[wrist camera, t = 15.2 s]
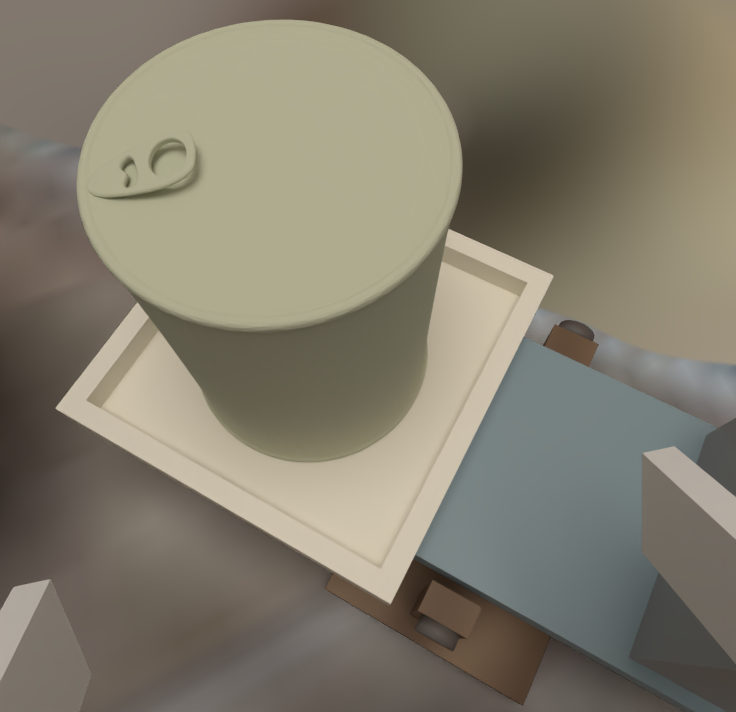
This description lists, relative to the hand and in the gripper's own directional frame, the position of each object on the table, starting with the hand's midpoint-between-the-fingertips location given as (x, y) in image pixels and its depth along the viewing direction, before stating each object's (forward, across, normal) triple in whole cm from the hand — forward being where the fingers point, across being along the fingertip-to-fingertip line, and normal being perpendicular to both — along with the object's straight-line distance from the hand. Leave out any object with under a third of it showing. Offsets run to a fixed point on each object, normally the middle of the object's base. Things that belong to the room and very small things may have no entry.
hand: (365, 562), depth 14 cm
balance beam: (+11, +6, -5) cm, 13 cm away
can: (+13, 0, 0) cm, 13 cm away
